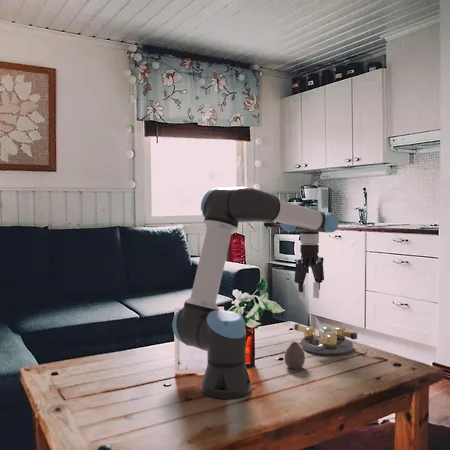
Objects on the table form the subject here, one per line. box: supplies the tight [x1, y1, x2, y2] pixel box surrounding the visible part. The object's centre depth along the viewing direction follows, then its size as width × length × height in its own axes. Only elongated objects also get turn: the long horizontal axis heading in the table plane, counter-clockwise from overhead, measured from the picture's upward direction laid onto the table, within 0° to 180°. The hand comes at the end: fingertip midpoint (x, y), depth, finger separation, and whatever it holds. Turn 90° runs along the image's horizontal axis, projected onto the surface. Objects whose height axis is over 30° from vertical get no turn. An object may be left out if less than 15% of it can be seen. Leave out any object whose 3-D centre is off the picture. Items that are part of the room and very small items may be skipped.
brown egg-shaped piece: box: [284, 341, 306, 371], centre depth 164 cm, size 7×7×9 cm
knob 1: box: [294, 323, 316, 341], centre depth 192 cm, size 11×4×4 cm, turn 31°
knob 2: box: [312, 334, 337, 349], centre depth 178 cm, size 11×4×4 cm, turn 121°
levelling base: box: [300, 326, 354, 357], centre depth 186 cm, size 20×20×8 cm
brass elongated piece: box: [333, 326, 358, 341], centre depth 187 cm, size 11×4×4 cm, turn 31°
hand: (309, 298), depth 198 cm, fingers open, 7 cm apart
